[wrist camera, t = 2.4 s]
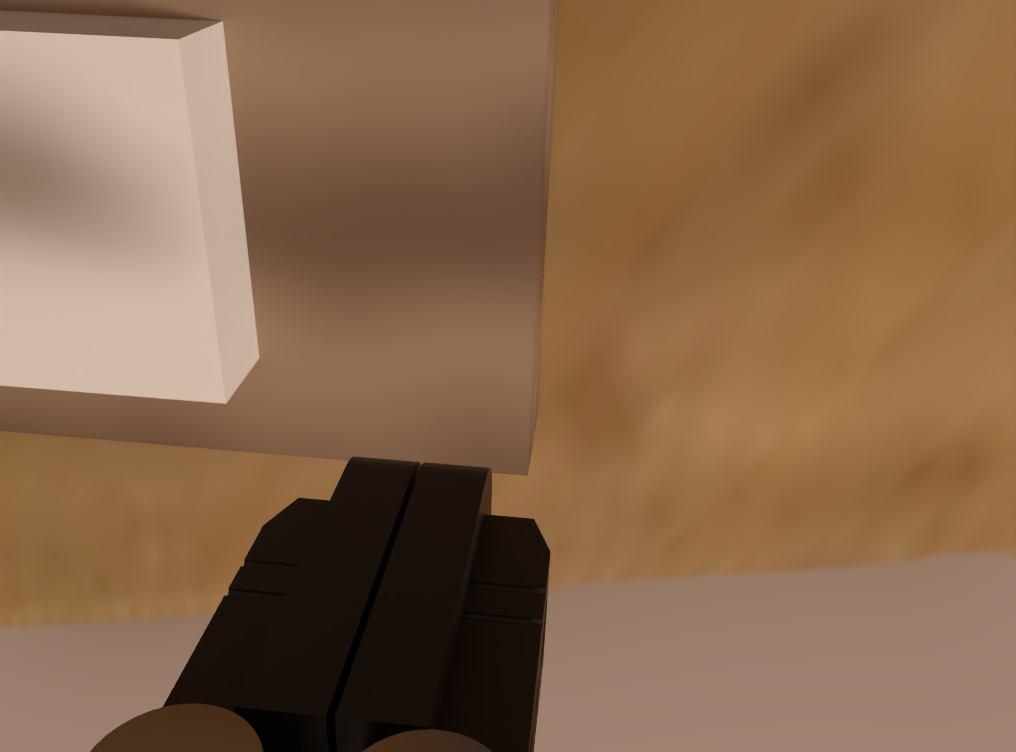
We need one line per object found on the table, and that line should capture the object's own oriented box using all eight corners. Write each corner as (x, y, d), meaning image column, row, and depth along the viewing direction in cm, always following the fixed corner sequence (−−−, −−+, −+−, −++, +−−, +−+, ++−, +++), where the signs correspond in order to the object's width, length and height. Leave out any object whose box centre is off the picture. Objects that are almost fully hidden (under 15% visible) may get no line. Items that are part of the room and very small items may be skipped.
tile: (-185, 1, 18) (-270, 17, 17) (222, 21, 18) (178, 39, 16) (-86, 331, 22) (-149, 373, 20) (259, 357, 21) (225, 403, 19)
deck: (-234, -180, 19) (-345, -185, 17) (565, -154, 18) (556, -155, 16) (-71, 370, 25) (-137, 419, 23) (536, 418, 24) (527, 475, 22)
